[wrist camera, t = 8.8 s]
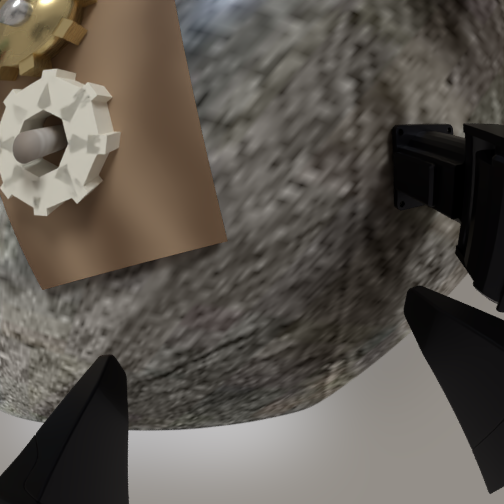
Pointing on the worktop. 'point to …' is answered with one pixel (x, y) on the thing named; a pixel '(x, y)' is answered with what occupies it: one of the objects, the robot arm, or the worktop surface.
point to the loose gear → (77, 132)
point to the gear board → (123, 152)
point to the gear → (37, 34)
